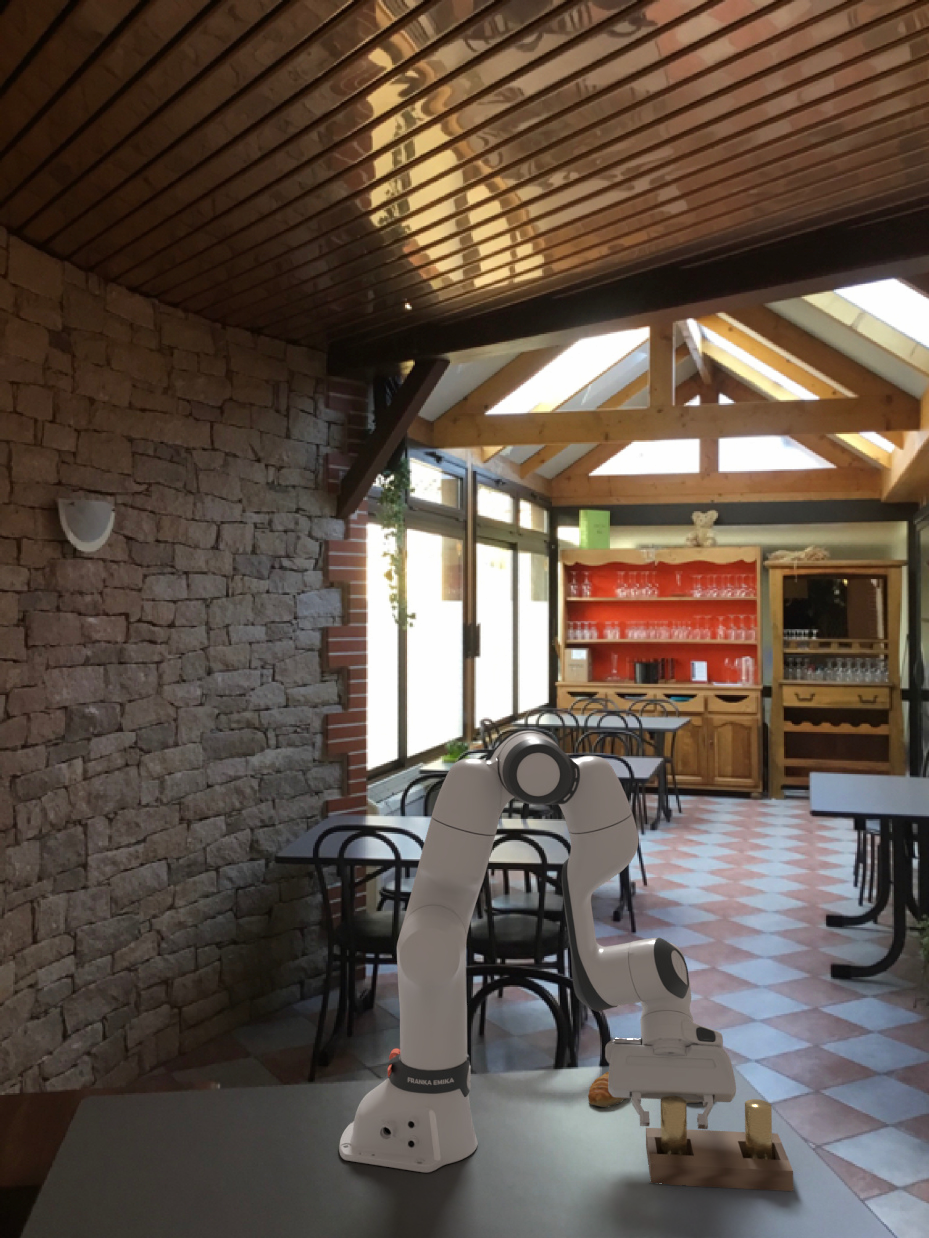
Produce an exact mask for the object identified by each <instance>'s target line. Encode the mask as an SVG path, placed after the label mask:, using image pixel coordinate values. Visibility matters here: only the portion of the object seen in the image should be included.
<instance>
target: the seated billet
mask: <svg viewBox="0 0 929 1238" xmlns="http://www.w3.org/2000/svg"><path fill="white" fill-rule="evenodd" d="M772 1112H773V1111H772V1104H771V1103H770V1102H768V1101H766V1100H763V1099H758V1098H757V1099H756V1098H753V1099H752V1098H751V1099H748V1100H746V1101H745V1102H744V1132H745V1152H746V1158H750V1159H771V1160H772V1133H773V1127H772V1126H773V1124H772V1123H773V1121H772V1119H773V1118H772V1114H773V1113H772Z"/></svg>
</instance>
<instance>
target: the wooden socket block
mask: <svg viewBox="0 0 929 1238" xmlns="http://www.w3.org/2000/svg"><path fill="white" fill-rule="evenodd" d="M645 1149H646V1150H645V1151H646V1157H647V1164H648V1165H649V1166H648V1171H649V1172H648V1173H649V1181H650V1180H651V1181H650V1184H651V1183H658V1184H657V1185H660V1184H659V1183H662V1184H661V1185H663V1184H669V1185H668V1186H682V1185H686V1186H687V1187H701V1188H703V1187H705V1188H722V1189H723V1188H725V1189H742V1190H762V1191H763V1190H764V1191H765V1190H766V1191H778V1192H779V1191H784V1192H794V1170H793V1167H792V1165H791V1163H790V1160H789V1157H788V1155H787V1153H786V1150H785V1148H784V1145H783V1143H782V1140H781V1137H780V1135H779V1133H773V1132H772V1160H771V1159H750V1158H746V1152H745V1131H731V1130H730V1131H729V1130H728V1131H727V1130H708V1129H689V1128H687V1155H668V1154H661V1127H645Z"/></svg>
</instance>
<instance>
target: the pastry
mask: <svg viewBox="0 0 929 1238" xmlns="http://www.w3.org/2000/svg"><path fill="white" fill-rule="evenodd" d="M608 1076H609V1071H606V1072H605V1073H603V1074H602V1075H601V1076H598V1077H597V1078H595V1079H594V1081H593V1082H592V1083H591V1085H590V1087H589V1089H588V1095H587V1097H588V1098H587V1099H588V1103H589V1105H592V1106H593V1105H594V1106H597V1107H602V1108H609V1107H611V1106H610V1105H612V1106H615V1105H618V1104H617V1103H619V1104H621V1101H622V1100H623V1101H625V1100H627V1098H620V1097H613V1096H612V1095H611V1094H610V1093H609V1091H608ZM624 1099H625V1100H624ZM623 1101H622V1102H623ZM614 1104H615V1105H614Z"/></svg>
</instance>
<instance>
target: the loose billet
mask: <svg viewBox="0 0 929 1238" xmlns="http://www.w3.org/2000/svg"><path fill="white" fill-rule="evenodd" d="M687 1115H688V1114H687V1103H686V1100H685V1099H683V1098H681V1097H678V1096H665V1097H663V1098H661V1099H660V1128H661V1154H668V1155H687V1129H688V1128H687V1127H688V1125H687V1124H688V1123H687V1122H688V1120H687Z"/></svg>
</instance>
